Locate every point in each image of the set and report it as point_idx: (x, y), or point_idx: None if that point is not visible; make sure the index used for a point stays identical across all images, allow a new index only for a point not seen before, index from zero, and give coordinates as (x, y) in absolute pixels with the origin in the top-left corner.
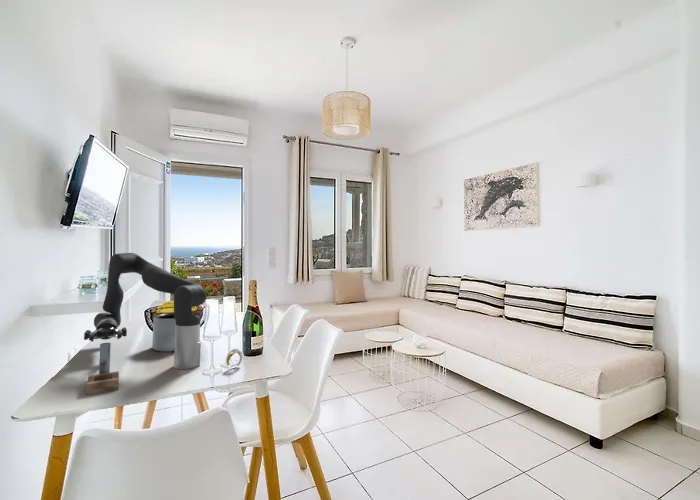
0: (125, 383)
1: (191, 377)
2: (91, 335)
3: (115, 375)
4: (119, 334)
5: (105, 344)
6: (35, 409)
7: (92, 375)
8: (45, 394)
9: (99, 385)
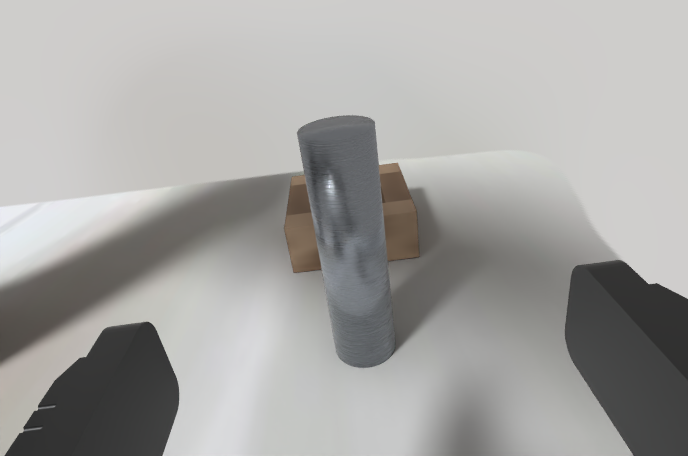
0: (268, 250)
1: (35, 250)
2: (649, 286)
3: (300, 199)
4: (118, 328)
5: (334, 121)
6: (516, 164)
7: (398, 210)
8: (565, 224)
9: None
